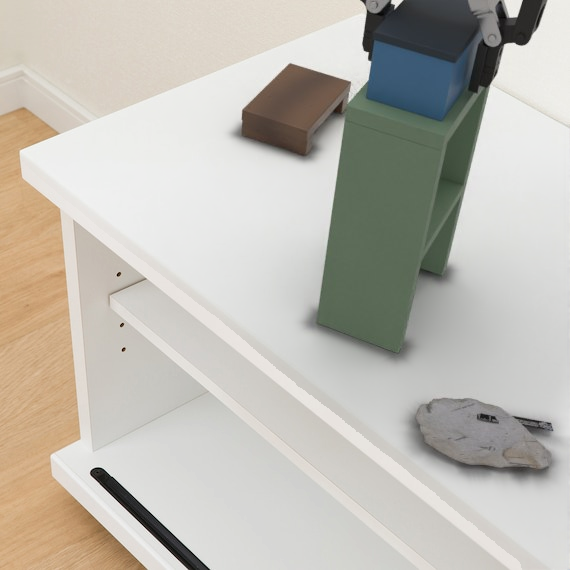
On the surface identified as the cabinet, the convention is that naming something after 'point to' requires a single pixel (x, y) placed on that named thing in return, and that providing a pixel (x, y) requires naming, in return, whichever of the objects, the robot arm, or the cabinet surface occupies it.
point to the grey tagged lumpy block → (482, 434)
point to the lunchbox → (424, 56)
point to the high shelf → (393, 211)
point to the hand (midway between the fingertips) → (426, 72)
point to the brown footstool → (294, 108)
